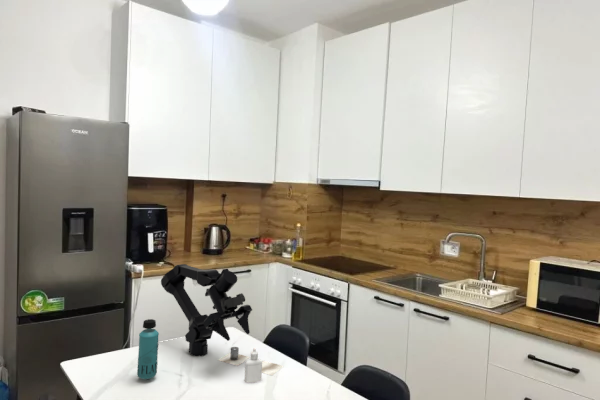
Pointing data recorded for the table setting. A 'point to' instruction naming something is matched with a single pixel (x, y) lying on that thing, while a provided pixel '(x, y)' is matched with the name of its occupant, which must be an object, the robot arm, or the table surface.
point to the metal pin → (234, 353)
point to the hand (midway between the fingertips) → (239, 336)
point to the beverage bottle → (148, 350)
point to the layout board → (266, 366)
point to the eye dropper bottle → (253, 368)
